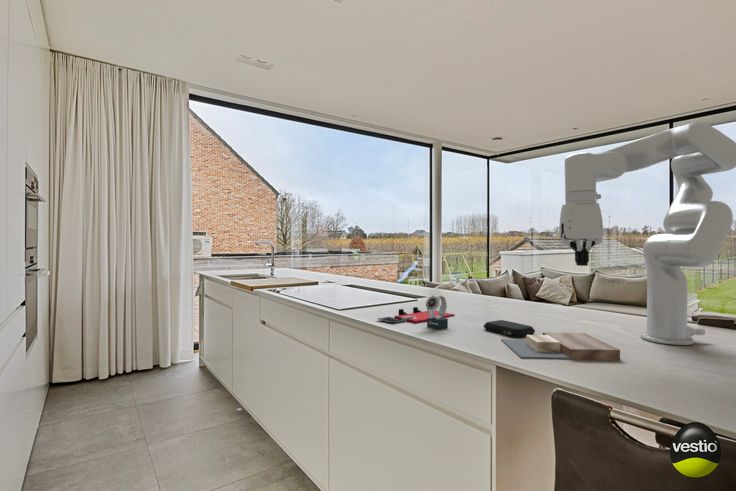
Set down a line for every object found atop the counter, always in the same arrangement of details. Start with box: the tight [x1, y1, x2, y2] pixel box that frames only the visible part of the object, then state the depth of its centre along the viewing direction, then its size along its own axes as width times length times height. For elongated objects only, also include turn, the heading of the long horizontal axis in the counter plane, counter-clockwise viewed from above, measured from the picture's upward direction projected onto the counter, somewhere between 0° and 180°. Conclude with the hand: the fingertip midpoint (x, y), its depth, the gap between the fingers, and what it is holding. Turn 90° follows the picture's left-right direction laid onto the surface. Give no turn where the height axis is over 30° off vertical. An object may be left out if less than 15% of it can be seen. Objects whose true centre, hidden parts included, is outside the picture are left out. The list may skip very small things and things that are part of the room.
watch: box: [425, 294, 449, 330], centre depth 134 cm, size 6×8×11 cm
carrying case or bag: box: [483, 319, 536, 338], centre depth 127 cm, size 11×3×15 cm
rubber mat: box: [500, 338, 571, 360], centre depth 107 cm, size 12×18×1 cm, turn 176°
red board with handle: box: [377, 306, 456, 325], centre depth 151 cm, size 30×3×15 cm
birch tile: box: [525, 334, 560, 352], centre depth 107 cm, size 6×8×2 cm
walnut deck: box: [542, 332, 621, 361], centre depth 106 cm, size 12×18×2 cm, turn 176°
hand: (582, 265), depth 108 cm, fingers closed
